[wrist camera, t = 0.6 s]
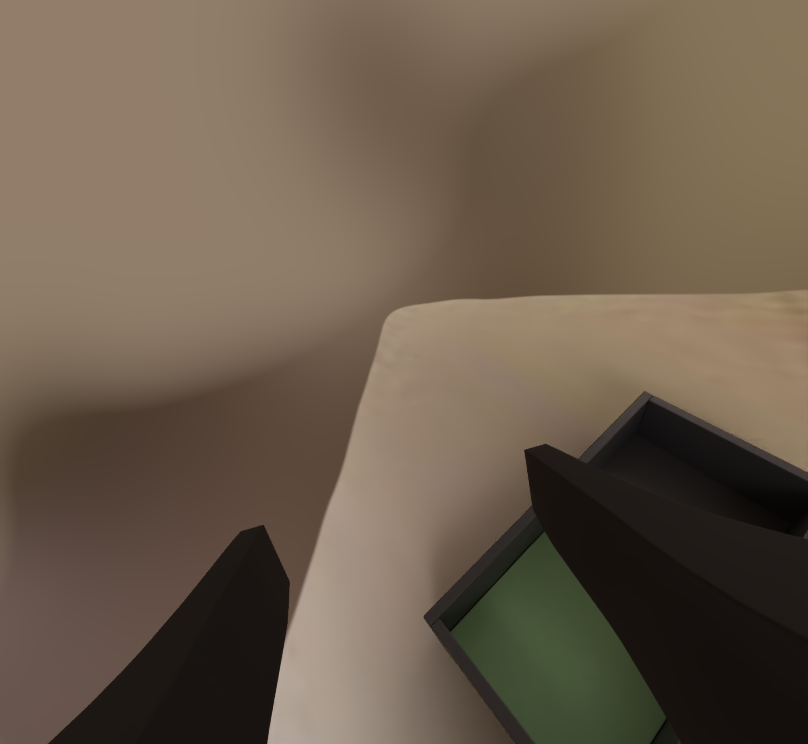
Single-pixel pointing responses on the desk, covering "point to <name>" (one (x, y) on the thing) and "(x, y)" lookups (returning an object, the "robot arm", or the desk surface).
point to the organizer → (569, 602)
